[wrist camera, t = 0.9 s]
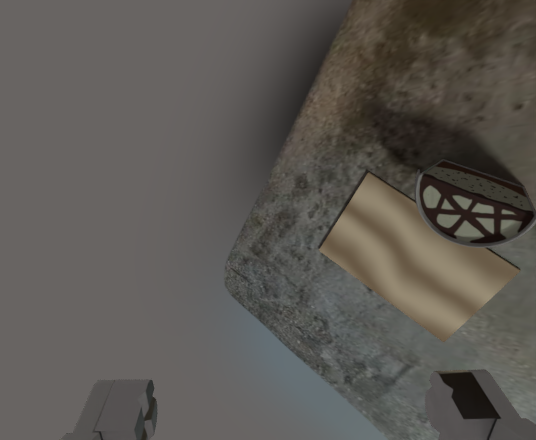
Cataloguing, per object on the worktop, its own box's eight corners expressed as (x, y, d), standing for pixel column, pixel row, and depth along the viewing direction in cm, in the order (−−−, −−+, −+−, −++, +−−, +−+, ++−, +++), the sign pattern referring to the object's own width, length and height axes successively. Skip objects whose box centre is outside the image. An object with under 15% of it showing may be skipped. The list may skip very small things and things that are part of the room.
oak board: (369, 171, 53) (368, 172, 53) (520, 269, 48) (520, 270, 48) (319, 249, 62) (318, 250, 61) (444, 340, 56) (443, 342, 56)
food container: (412, 198, 52) (393, 223, 44) (430, 154, 49) (414, 173, 41) (511, 236, 47) (511, 272, 39) (538, 191, 44) (544, 220, 36)
